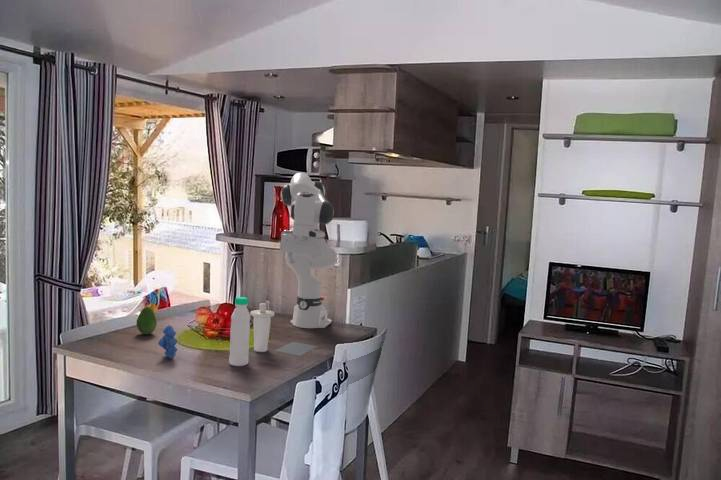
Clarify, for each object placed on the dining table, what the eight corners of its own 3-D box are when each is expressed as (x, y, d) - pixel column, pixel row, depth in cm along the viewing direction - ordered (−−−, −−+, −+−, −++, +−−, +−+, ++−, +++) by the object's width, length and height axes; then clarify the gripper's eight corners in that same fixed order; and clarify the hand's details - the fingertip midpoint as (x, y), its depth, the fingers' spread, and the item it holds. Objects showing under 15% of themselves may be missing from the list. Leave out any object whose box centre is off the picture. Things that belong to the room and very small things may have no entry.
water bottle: (230, 367, 200) (234, 299, 198) (227, 361, 206) (230, 296, 204) (250, 366, 202) (253, 299, 200) (246, 360, 209) (249, 295, 207)
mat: (293, 343, 236) (293, 341, 236) (318, 347, 232) (318, 346, 232) (273, 352, 222) (273, 350, 222) (299, 357, 217) (299, 355, 217)
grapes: (153, 354, 208) (154, 323, 207) (171, 352, 212) (172, 322, 211) (161, 363, 199) (162, 330, 198) (180, 361, 203) (181, 329, 202)
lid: (258, 311, 227) (259, 300, 226) (278, 314, 223) (279, 303, 223) (245, 315, 218) (246, 304, 217) (266, 318, 214) (267, 307, 214)
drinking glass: (265, 354, 218) (267, 317, 216) (249, 352, 219) (251, 315, 218) (271, 350, 224) (273, 314, 223) (255, 348, 226) (257, 312, 224)
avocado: (156, 331, 240) (157, 304, 239) (155, 336, 233) (156, 308, 232) (136, 332, 237) (137, 304, 236) (135, 336, 230) (136, 308, 229)
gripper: (277, 229, 228) (276, 262, 229) (321, 234, 220) (319, 268, 222) (285, 229, 234) (283, 261, 235) (328, 233, 226) (326, 266, 227)
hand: (301, 264), depth 228 cm, fingers open, 8 cm apart
